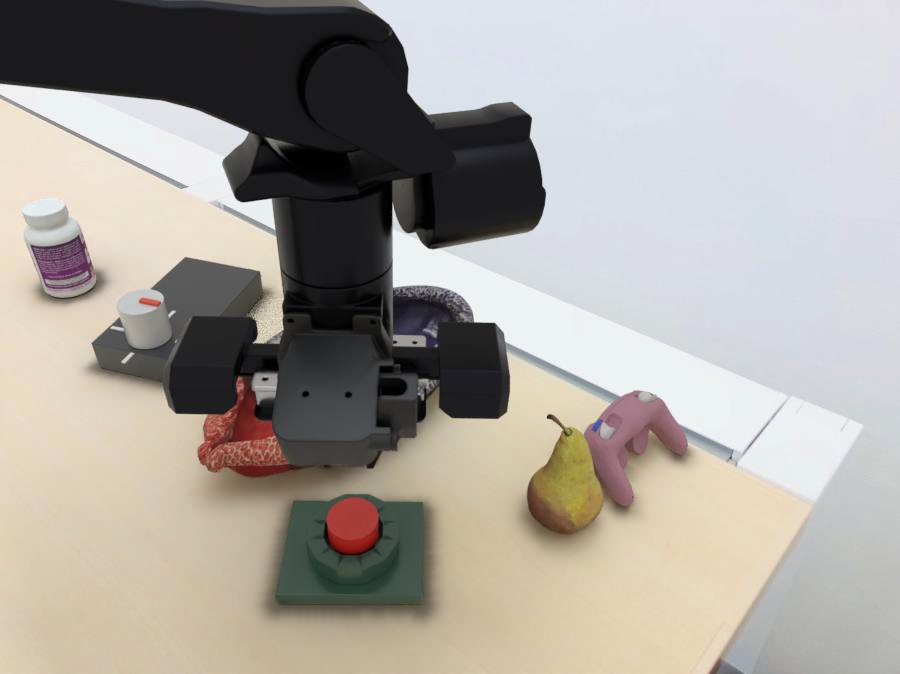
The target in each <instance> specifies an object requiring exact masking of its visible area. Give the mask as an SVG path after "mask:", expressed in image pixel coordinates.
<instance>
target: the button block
mask: <svg viewBox="0 0 900 674" xmlns="http://www.w3.org/2000/svg"><path fill="white" fill-rule="evenodd" d="M347 498H362V499H365V500H367V501H369V502H370V503H372V504H373V505H374V506H375V508H376V509H377V512H378V516H379V535H378V539H377V541H376V542H375V544H374V545H373V546H372V547H371V548H370V549H368V550H367V551H365V552H363V553H360V554H353V555H350V554H344V553H341V552H339V551H337V550H336V549H335V548H333V546H332V545H331V544H330V542H329V538H328V529H327V515H328V513H329V511H330V509H331V508H332V507H333V506H334V505H335V504H336V503H338V502H339V501H341V500H344V499H347ZM285 538H286V539H285V544H284V548H283V554H282V559H281V563H280V564H281V565H280V570H279V575H278V581H277V586H276V592H275V596H276V602H277V605H423V600H424V599H423V597H424V501H384V500H383V499H380V498H378V497H376V496H374V495H372V494H370V493H345V494H342V495H340V496H337V497H335V498H332V499H330V500H293V502H292V505H291V512H290V519H289V522H288V528H287V533H286V537H285Z"/></svg>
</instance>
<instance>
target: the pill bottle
mask: <svg viewBox="0 0 900 674" xmlns="http://www.w3.org/2000/svg"><path fill="white" fill-rule="evenodd" d="M21 213H22V215H23V216H22V217H23V219H24V222H25V223H26V224H27V225H26V226H25V227H24V230H23V238H24V242H25V244H26V247H27V249H28V252H29V255H30V257H31V260H32V263H33V266H34V267H35V269H36V272H37V276H38V278H39V280H40V283H41V285H42V288H43V290H44V292H45V293H46V294H47V295H49V296H51V297H55V298H62V299H63V298H64V299H65V298H73V297H76V296H77V297H78V296H80V295H82V294H85V293H87V292H88V291H90V290H91V289H93V288H94V287H95V285H96V282H97V275H96V271H95V269H94V265H93V262H92V259H91V255H90V253H89V249H88V246H87V242H86V240H85V236H84V234H83V231H82V227H81V224H80V223H79V222H78V220H76V219H75V218H73V217H71V216H69V210H68V207H67V204H66V202H65V201H64V200H62V199H60V198H56V197H46V198H40V199H35V200H33V201H30V202H28V203H26V204H25V205H24V206H23V207H22V208H21Z"/></svg>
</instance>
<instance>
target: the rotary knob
mask: <svg viewBox="0 0 900 674" xmlns="http://www.w3.org/2000/svg"><path fill="white" fill-rule="evenodd" d="M116 309H117V312H118V316H119V317H120V319H121V322H122V326H123V329H124V332H125V335H126V339H127V342H128V344H129V345H130V346H132V347H134V348H137V349H152V348H156V347H159V346H161V345H163V344H165V343H166V342H167V341H168V340H169V339H170V338H171V336H172V328H171V324H170V320H169V316H168V312H167V308H166V304H165V300H164V296H163V295H162V294H161V293H160V292H158V291H156V290H151V288H144V289H143V288H142V289H136V290H132V291H129V292H128V293H125V294H124V295H122V296H121V297H120V298H119V299H118V300H117V302H116Z"/></svg>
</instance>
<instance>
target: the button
mask: <svg viewBox="0 0 900 674" xmlns="http://www.w3.org/2000/svg"><path fill="white" fill-rule="evenodd" d="M327 529H328V538H329V542H330V544H331V545H332V546H333V548H335V549H336V550H337V551H339V552H341V553H344V554H350V555H353V554H360V553H363V552H365V551H367V550H368V549H370V548H371V547H372V546H373V545H374V544H375V542H376V541H377V539H378V535H379V516H378V512H377V509H376V508H375V506H374V505H373V504H372V503H370V502H369V501H367V500H365V499H362V498H347V499H344V500H341V501H339V502H338V503H336V504H335V505H334V506H333V507H332V508H331V509H330V511H329V513H328V515H327Z"/></svg>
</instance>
